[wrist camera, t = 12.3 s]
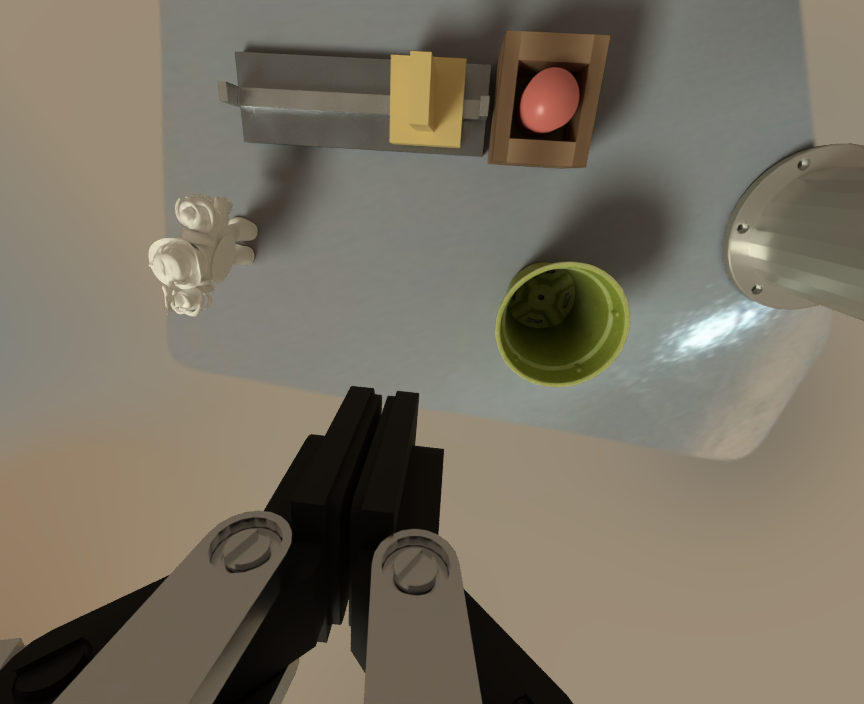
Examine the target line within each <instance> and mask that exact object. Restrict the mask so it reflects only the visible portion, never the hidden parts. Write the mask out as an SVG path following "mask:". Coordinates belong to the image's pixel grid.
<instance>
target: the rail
mask: <svg viewBox="0 0 864 704" xmlns="http://www.w3.org/2000/svg"><path fill="white" fill-rule="evenodd" d="M235 60H236V69H237V79H238V86H236V85H233V84H230V83H228V82H222V81H217V83H218V91H219V99H220V101H221V102H225V103H228V104H231V105H235V106H238V107H241V116H242V125H243V134H244V142H250V143H265V144H281V145H298V146H314V147H331V148H347V149H363V150H380V151H396V152H412V153H429V154H445V155H462V156H478V157H482V155H483V145H484V134H485V124H486V119H487V117H488V108H489V98H490V96H488V92H489V82H490V72H491V65H488V64H468V63H466V81H465V91H464V105H463V118H462V131H461V147H460V148H447V147H431V146H414V145H398V144H392V143H390V79H391V60H390V59H371V58H351V57H332V56H312V55H293V54H273V53H254V52H235Z"/></svg>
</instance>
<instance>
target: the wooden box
mask: <svg viewBox="0 0 864 704" xmlns="http://www.w3.org/2000/svg"><path fill="white" fill-rule="evenodd" d="M610 36H611V35H592V34H571V33H550V32H529V31H508V30H507V31H506V34H505V37H504V41H503V44H502V48H501V51H500V55H499V58H498V65H497V74H496V84H495V94H494V104H493V114H492V124H491V134H490V144H489V154H488V164H496V165H512V166H529V167H545V168H561V169H565V168H584V167H586V165H587V159H588V154H589V149H590V143H591V138H592V132H593V127H594V122H595V116H596V111H597V106H598V100H599V95H600V90H601V84H602V79H603V73H604V68H605V63H606V57H607V52H608V47H609V41H610ZM552 67H557V68H562V69H565V70H567V71H568V72H570V73H571V74H572V75H573V77H574V78H575V80H576V82H577V84H578V88H579V102H578V106H577V109H576V111H575V113H574V115H573V116H572V118H571V119H570V120H569V121H568V122H567V123H566V124H564V125H563V126H561V127H559V128H557V129H555V130H553V131H551V132H549V133H547V134H545V135H542V136H538V137H534V136H529V135H527V134H525V133H524V132H522V131H521V130H520V128H519V127H518V125H517V123H516V119H515V107H516V104H517V101H518V99H519V97H520V96H521V94H522V93H523V91H524V90H525V89H526V87H527V86H528V84H529V83H530V82H531V80H532V79H533V78H534V77H535V76H536V75H537V74H538V73H539V72H541V71H543V70H545V69H548V68H552Z"/></svg>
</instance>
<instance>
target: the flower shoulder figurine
mask: <svg viewBox="0 0 864 704" xmlns="http://www.w3.org/2000/svg"><path fill="white" fill-rule="evenodd" d="M192 196H203V197H206V198H208V199H210V200H211V201H212V203H213V205H212V203H211V202H210V201H209V200H208V199H206V198H203V197H192ZM192 196H191V197H190V198H188V197H185V199H186V200H185V201H184V202H182V203H181V205H180V208H179V202H180V198H179V199H178V200H177V202H176V205H175V212H176V215H177V218H178V220H179V221H180V222H181V223H182V224H183V225H184V226H185V227H187V228H186V229H185V228H183V229H182V230H181V234H180V236H181V237H176V238H165V239H160V240H158V241H156V242H154V243H153V245H151V247H150V250H149V261H150V264H149V266H150V267H151V268H152V270H153V272H154V274H155V275H156V276H157V278H158V279H159V280H160V281H161V282H163V283H164V284H166V285H163V286H162V288H163V291H164V294H165V297H164V298H165V304H166V307H165V308H164V309H165V311H166V313H167V315H169V310H171V312H172V311H173V310H172V308H173V309H174V311H176V312H177V313H178V314H184V313H185V314H187V315H189V316H197V315H198V314H199V313H200V311H203V310H205V309H207V308H208V306H209V305H210V304H211V301H212V299H211V296H210V295H209V293H212V291H213V290H214V285H213V284H212V283H210V282H211V280H212V277H213V280H214V281H215V282H217V283H220V282H222V281H223V280H224V279H225V278H226V276H227V275H228V273H229V271H230V269H231V267H232V264H236V265H240V264H251V263H252V262H253V261H254V251H253V250H252V248H250V247H248V246H241V245H239V244H235V243H236V241H251V240H254V239H255V238H256V237H257V234H258V229H257V226H256V225H255V224H254V223H253V222H251V221H249V220H247V219H245V218H242V217H235V218H232V219H231V220H230V221H229V214H230V212H231V210H232V203H231V202H229V201H227V199H226V198H219V197H215V198H214V200H213V199H212V198H211V197H210V196H207V195H202V194H193V195H192ZM204 295H207V296H208V304H207V306H206V307H205V308H204V309H203V310H201V308H202V306H203V303H204ZM171 307H172V308H171ZM166 308H167V309H166ZM179 309H180V310H179Z"/></svg>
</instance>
